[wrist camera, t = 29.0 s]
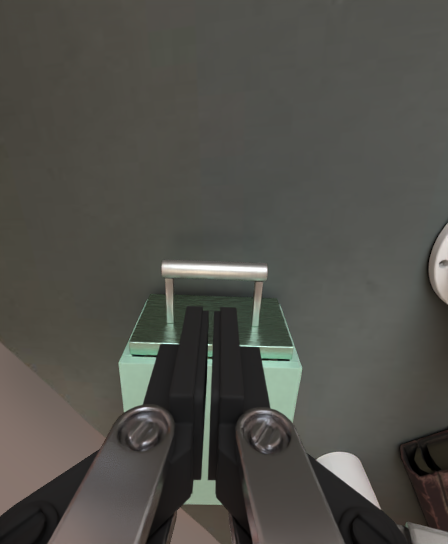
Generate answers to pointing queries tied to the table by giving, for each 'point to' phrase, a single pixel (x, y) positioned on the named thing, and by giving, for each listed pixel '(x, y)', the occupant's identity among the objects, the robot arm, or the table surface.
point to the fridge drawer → (250, 311)
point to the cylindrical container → (349, 473)
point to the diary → (429, 476)
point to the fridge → (279, 386)
